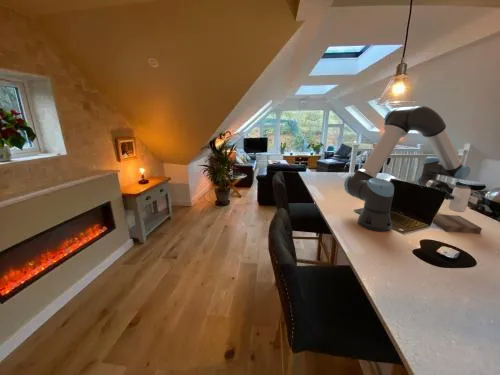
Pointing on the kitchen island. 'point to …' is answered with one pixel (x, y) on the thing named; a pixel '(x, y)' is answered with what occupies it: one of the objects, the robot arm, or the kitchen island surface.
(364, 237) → the kitchen island surface
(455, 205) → the can
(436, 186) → the robot arm
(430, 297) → the kitchen island surface
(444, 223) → the walnut board
